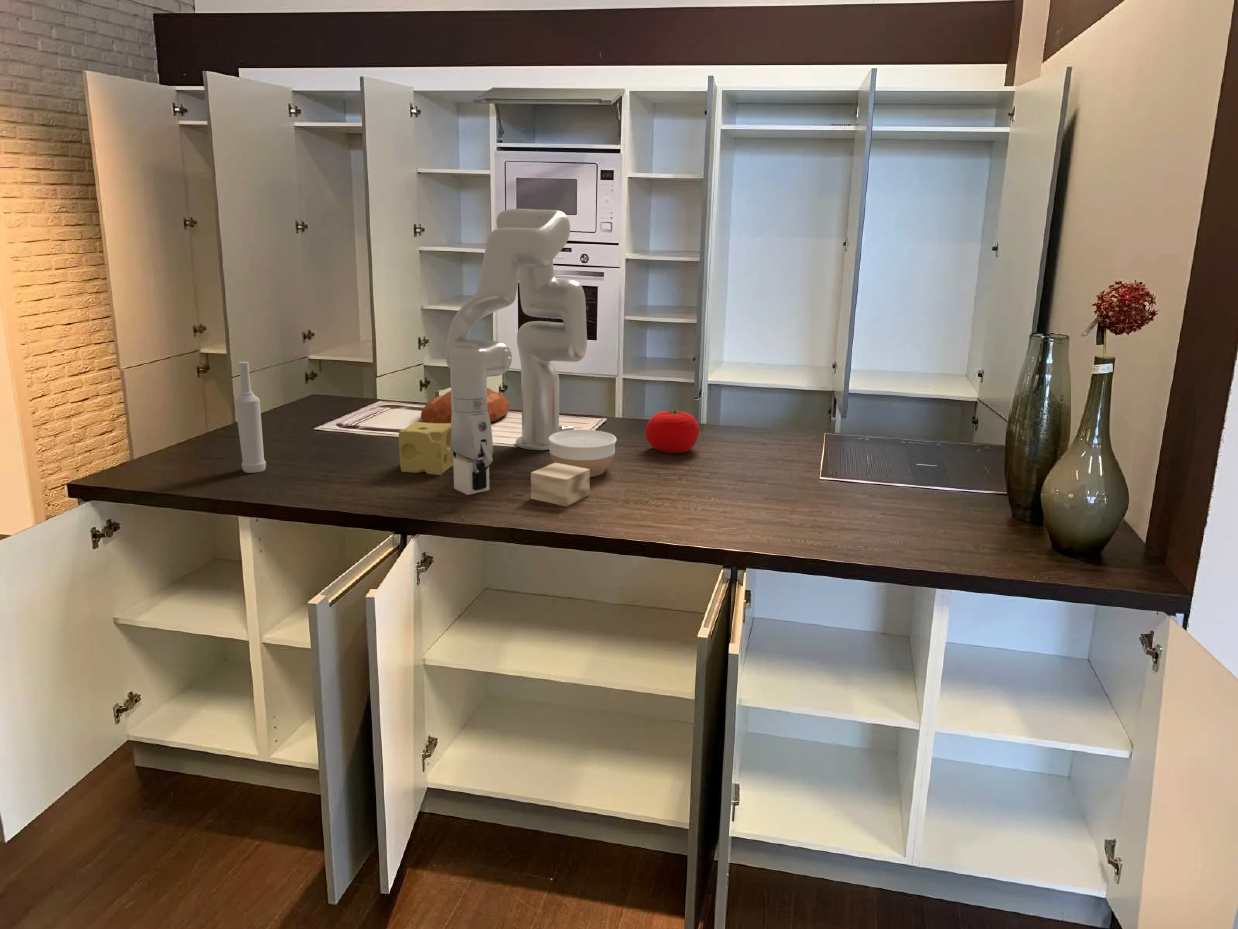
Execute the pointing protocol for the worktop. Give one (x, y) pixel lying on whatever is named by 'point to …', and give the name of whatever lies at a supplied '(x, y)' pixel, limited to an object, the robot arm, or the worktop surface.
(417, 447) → the cheese
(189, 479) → the worktop surface
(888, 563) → the worktop surface
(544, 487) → the block
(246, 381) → the bottle
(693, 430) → the tomato
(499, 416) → the bread
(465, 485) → the white cube
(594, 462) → the bowl
